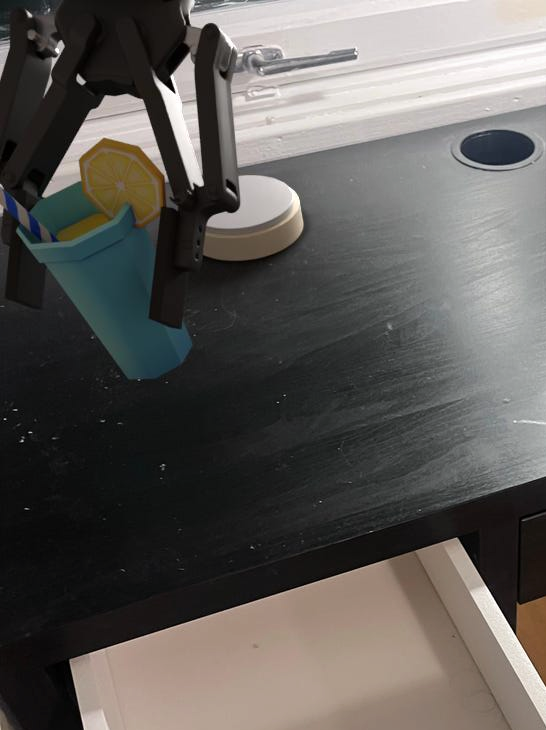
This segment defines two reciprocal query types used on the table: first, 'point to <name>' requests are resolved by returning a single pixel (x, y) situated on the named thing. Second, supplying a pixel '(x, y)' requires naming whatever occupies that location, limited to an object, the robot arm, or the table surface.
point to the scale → (255, 222)
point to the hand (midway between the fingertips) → (93, 313)
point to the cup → (108, 253)
